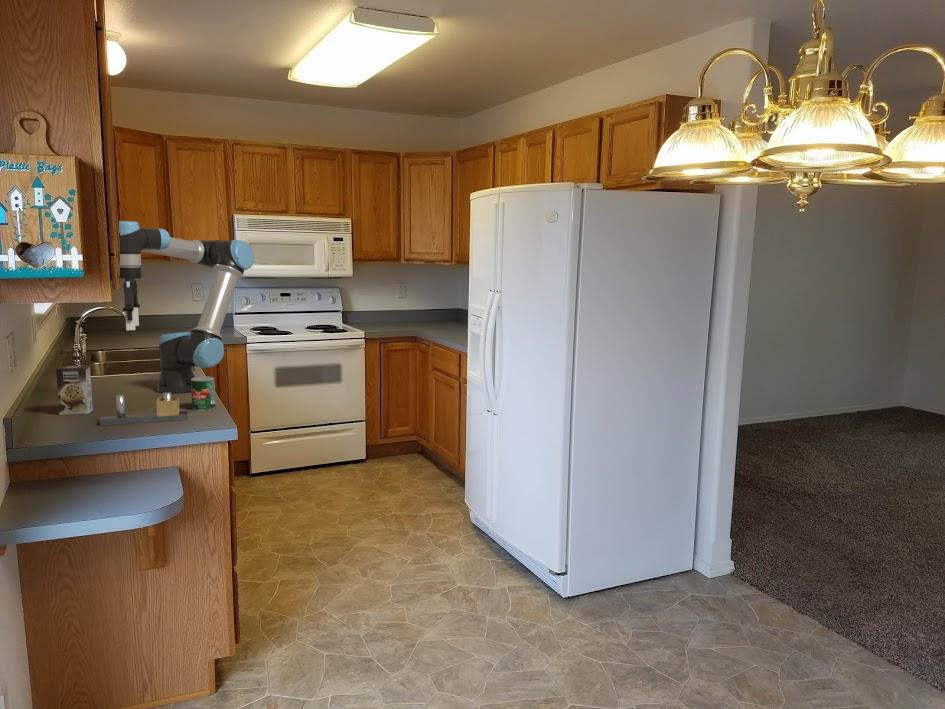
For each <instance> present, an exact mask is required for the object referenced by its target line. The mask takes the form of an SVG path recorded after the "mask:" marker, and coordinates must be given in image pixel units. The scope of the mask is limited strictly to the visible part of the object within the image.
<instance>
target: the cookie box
mask: <svg viewBox="0 0 945 709" xmlns="http://www.w3.org/2000/svg"><path fill="white" fill-rule="evenodd" d="M55 371H56V387H57V388H56V389H57V398H58V399H57V401H58V402H57V404H58V415H59V416H66V415H67V416H68V415H88V414H90V413H91V412H92V411H94V408H93V394H92V377H91V375H92V374H91V365H61V366H58V367H57V368H55Z"/></svg>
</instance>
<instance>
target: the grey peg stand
mask: <svg viewBox="0 0 945 709" xmlns="http://www.w3.org/2000/svg"><path fill="white" fill-rule="evenodd" d="M162 395H163V397H164V400H172V399H171V397H172V393H171V392H166V393H162ZM115 405H116V415H108V416H107V415H106V416H101V417H100V418H99V426H100V427H101V426H116V425H127V424H128V425H129V424H141V423H142V424H143V423H145V424H146V423H156V422H170V421H171V422H172V421H183V420H184V421H185V420H186V419H188V420H189V411H188V410H183V411H181V410H180V412H179V415H173V416H158V417H157V412H155V413H154V412H153V413H152V412H151V413H138V414H126V402H125V394H124V395H123V394H117V395H115Z"/></svg>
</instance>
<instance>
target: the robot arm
mask: <svg viewBox="0 0 945 709" xmlns="http://www.w3.org/2000/svg"><path fill="white" fill-rule="evenodd" d="M118 221H119V233H120V276H119V278H118V279H125V281H124V282H123V283H122V284H123V285H122V286H123V294H124V299H123V300H124V307H122V312H124V313H125V329H126V330H125V331H136V327H138V326H140V320H139V319H140V317H139V308H140V307H141V304H139V299H138V284H137V281H136V279H141V278H143V275H142V274H143V273H142V268H141V266H142V255H141V252H143V253H147V254H148V253H150V254H154V255H158V256H166V257H169V258H170V257H171V258H177V259H182V260H188V261H189V262H190V263H192V264H197V265H201V266H205V267H209V268H213V269H214V271H215V274H214V277H213V281H212V283H211V285H210V289H209V292H208V295H207V298H206V301H205V303H204V307H203V309H202V312H201V315H200V318H199V321H198V323H197V324H198V325H197V326H196V327H194V328H192V329H191V331H185V332H176V333H175V332H174V333H166V334H165V333H164V334H161V335H160V336H159V338H158V340H159V342H158V349H159V363H160V373H159V376H158V381H157V384H156V391H157V392H158V393H162V394H163V393H166V392H171V394H179V393H180V394H182V393H189V392H192V390H191V379H192V378H195V377H196V376H195V373H194V370H193V367H198V368H201V369H202V368H204V369H205V368H213V367H215V366H217V365H218V364H219V363H220V362H221V361H222V360H223V359H224V358H223V357H224V355H225V348H224V347H225V346H224V343H223V342H222V340H223V337H222V335H221V334H220V332H221V331H222V328H223V325H224V321H225V318H226V315H227V312H228V310H229V306H230V302H231V300H232V296H233V293H234V291H235V288H236V284H237V281H238V279H242V278H243V275H244V273H245V271H246V270H249V269H251V268H252V267H253V265H254V262H255V255H254V252H253V248H252V246H251V245H250V244H249V243H248V242H247V241H246V240H239V239H232V240H229V239H228V240H227V239H225V240H224V239H223V240H222V239H215V240H214V239H212V240H202V239H201V240H200V239H192V240H187V239H183V238H178V237H173V236H172V237H171V235H170V233H169V231H167V230H166V229H164V228H159V227H157V228H153V227H140V225H139V222H137V221H129V220H128V221H126V220H118Z"/></svg>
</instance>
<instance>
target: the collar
mask: <svg viewBox="0 0 945 709" xmlns="http://www.w3.org/2000/svg"><path fill="white" fill-rule="evenodd" d="M171 399H172V400H164V397H162V396H160V397H157V399H156V402H155V403H156V413H157V417H158V416H173V415H179V412H180V411H181V410H180V409H181V408H180V397H179V396H178V395H177V396H171Z"/></svg>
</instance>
